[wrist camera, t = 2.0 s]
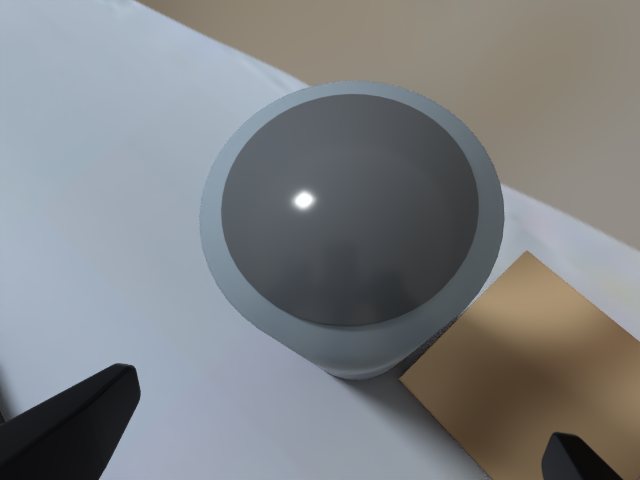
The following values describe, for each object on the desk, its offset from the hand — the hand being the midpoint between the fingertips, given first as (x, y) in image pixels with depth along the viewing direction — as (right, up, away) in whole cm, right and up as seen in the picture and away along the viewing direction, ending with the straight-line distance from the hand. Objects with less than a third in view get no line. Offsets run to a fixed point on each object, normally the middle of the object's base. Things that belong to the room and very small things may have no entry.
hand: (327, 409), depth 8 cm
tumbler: (+2, 0, +11) cm, 12 cm away
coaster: (+10, -3, +10) cm, 14 cm away
